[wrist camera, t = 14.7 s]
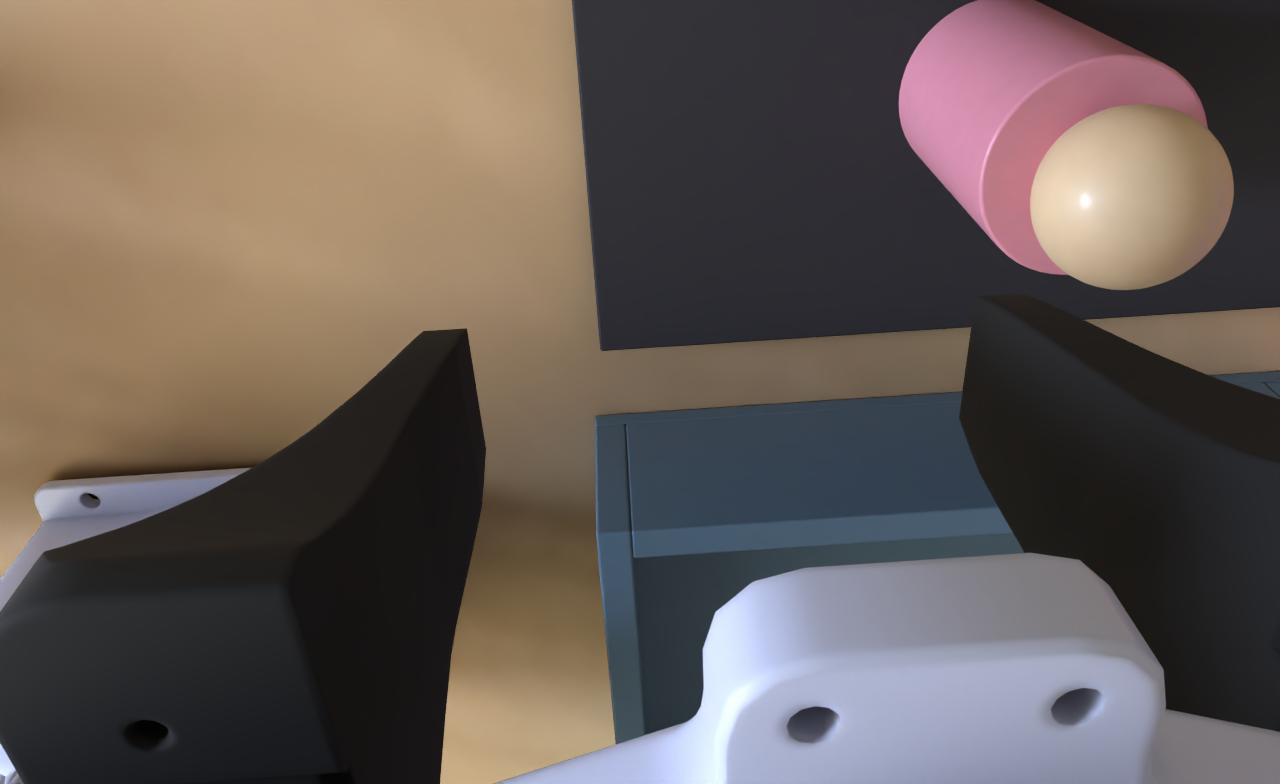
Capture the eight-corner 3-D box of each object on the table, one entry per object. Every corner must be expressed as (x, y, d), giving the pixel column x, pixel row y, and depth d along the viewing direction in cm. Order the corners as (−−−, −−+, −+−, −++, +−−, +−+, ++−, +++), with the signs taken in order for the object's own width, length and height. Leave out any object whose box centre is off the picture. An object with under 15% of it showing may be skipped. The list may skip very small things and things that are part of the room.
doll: (897, 187, 23) (1031, 364, 16) (898, 9, 21) (1052, 121, 14) (1069, 164, 23) (1279, 331, 16) (1087, -18, 21) (1337, 82, 14)
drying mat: (600, 342, 26) (600, 352, 25) (556, -199, 19) (555, -199, 19) (1294, 297, 26) (1306, 306, 25) (1472, -253, 20) (1492, -255, 19)
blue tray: (631, 825, 36) (636, 965, 32) (594, 415, 27) (596, 534, 23) (1143, 789, 36) (1217, 923, 32) (1281, 370, 27) (1411, 480, 23)
